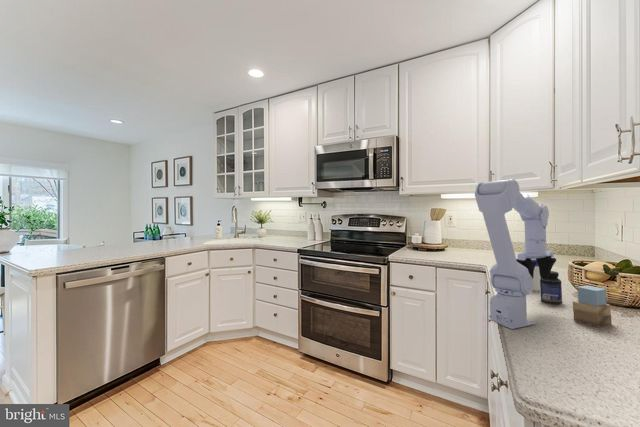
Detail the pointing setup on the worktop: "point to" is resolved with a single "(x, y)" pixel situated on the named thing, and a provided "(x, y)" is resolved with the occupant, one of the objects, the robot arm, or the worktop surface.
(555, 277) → the pill bottle
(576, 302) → the slab upper
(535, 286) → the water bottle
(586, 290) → the cube
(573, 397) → the worktop surface
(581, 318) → the slab lower
